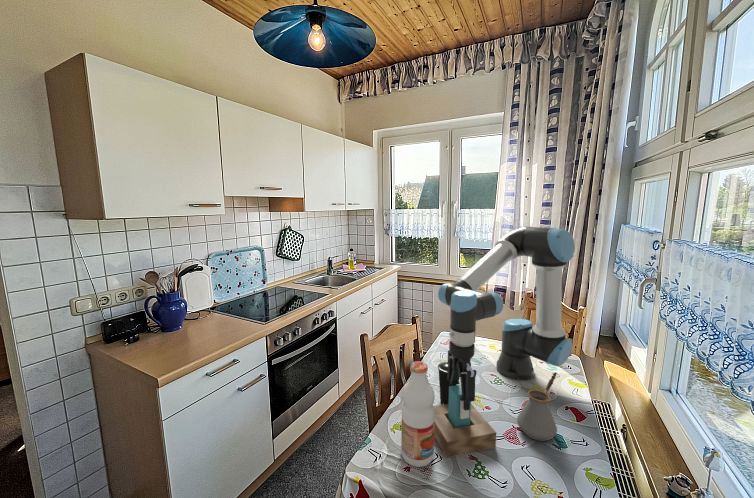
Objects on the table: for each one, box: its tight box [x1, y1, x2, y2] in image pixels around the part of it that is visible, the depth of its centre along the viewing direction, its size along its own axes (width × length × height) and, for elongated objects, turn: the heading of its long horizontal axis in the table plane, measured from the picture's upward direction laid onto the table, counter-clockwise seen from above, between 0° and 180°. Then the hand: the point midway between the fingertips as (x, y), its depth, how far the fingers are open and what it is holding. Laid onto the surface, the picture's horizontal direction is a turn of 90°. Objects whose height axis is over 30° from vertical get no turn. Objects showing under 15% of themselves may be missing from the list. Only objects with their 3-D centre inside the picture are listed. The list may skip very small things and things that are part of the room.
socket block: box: [433, 403, 497, 458], centre depth 99 cm, size 16×16×5 cm
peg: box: [448, 384, 472, 429], centre depth 98 cm, size 5×5×14 cm
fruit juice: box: [400, 360, 435, 468], centre depth 89 cm, size 9×9×28 cm
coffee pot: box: [516, 371, 560, 442], centre depth 102 cm, size 21×12×15 cm, turn 132°
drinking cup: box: [437, 350, 451, 405], centre depth 114 cm, size 8×8×20 cm
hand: (459, 411), depth 98 cm, fingers open, 6 cm apart
